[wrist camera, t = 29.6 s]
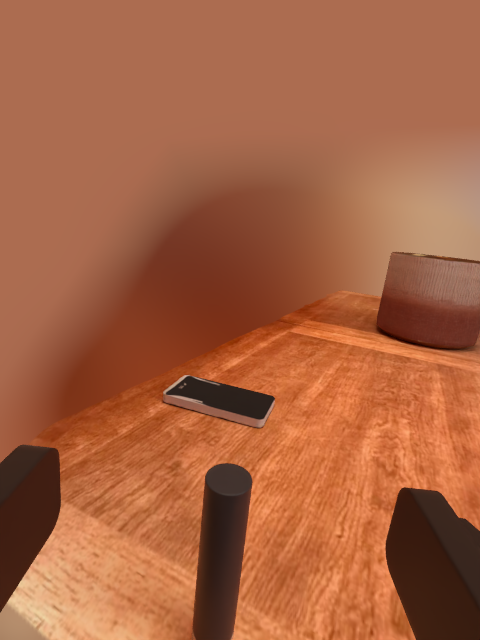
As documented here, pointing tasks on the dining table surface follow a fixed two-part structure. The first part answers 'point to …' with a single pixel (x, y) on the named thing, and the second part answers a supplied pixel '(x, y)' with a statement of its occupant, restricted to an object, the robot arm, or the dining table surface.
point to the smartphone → (220, 400)
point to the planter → (431, 300)
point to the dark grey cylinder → (221, 551)
